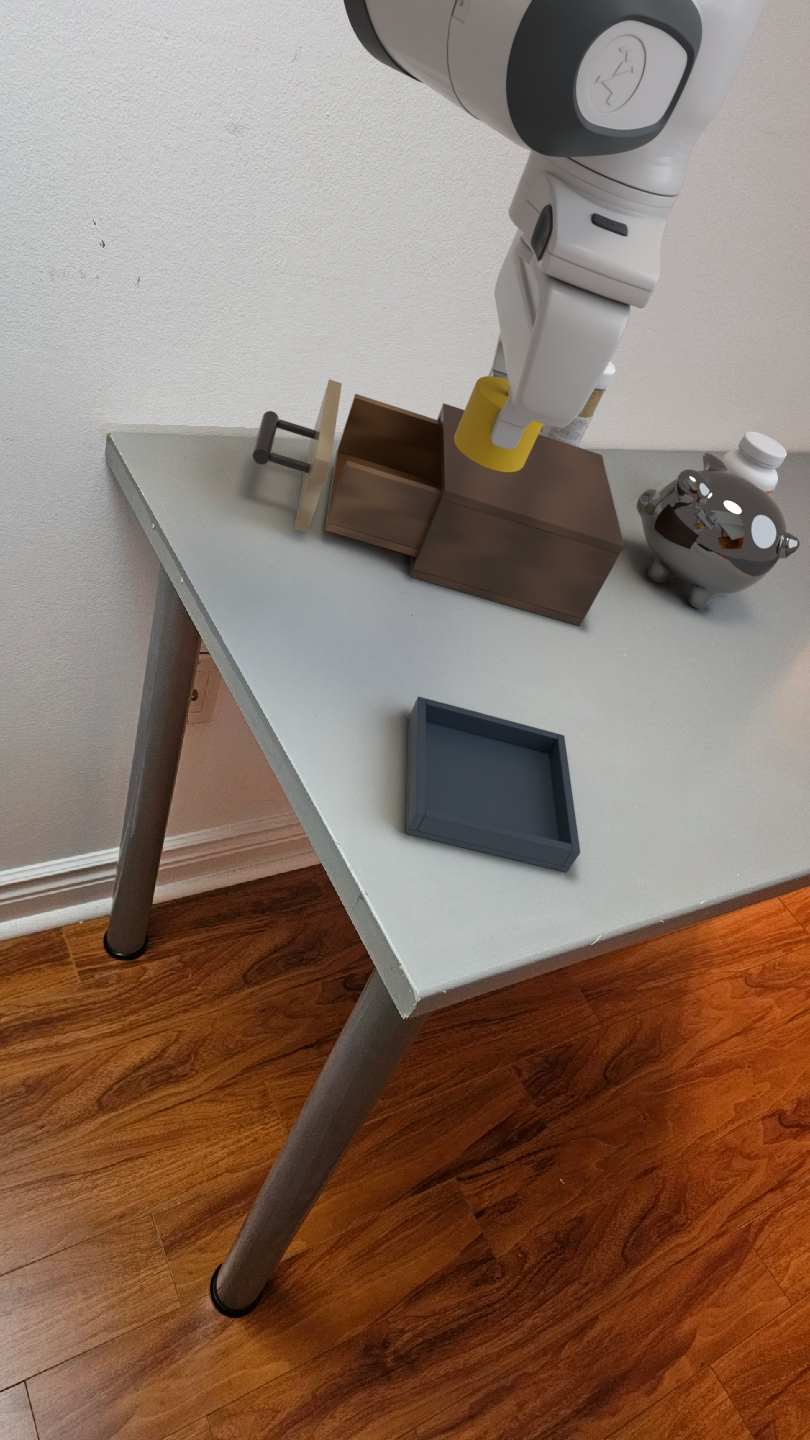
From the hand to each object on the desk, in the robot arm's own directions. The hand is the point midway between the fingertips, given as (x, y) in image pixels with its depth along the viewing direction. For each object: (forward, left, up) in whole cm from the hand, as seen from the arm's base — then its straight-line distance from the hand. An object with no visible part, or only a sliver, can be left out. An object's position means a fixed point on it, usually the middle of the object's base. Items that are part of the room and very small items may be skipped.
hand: (498, 419), depth 71 cm
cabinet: (+8, +15, -19) cm, 25 cm away
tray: (+6, -16, -19) cm, 25 cm away
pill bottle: (+34, +32, -19) cm, 50 cm away
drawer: (-5, +15, -18) cm, 24 cm away
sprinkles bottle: (+14, +32, -19) cm, 40 cm away
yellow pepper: (0, 0, -2) cm, 2 cm away
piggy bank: (+28, +20, -19) cm, 39 cm away
